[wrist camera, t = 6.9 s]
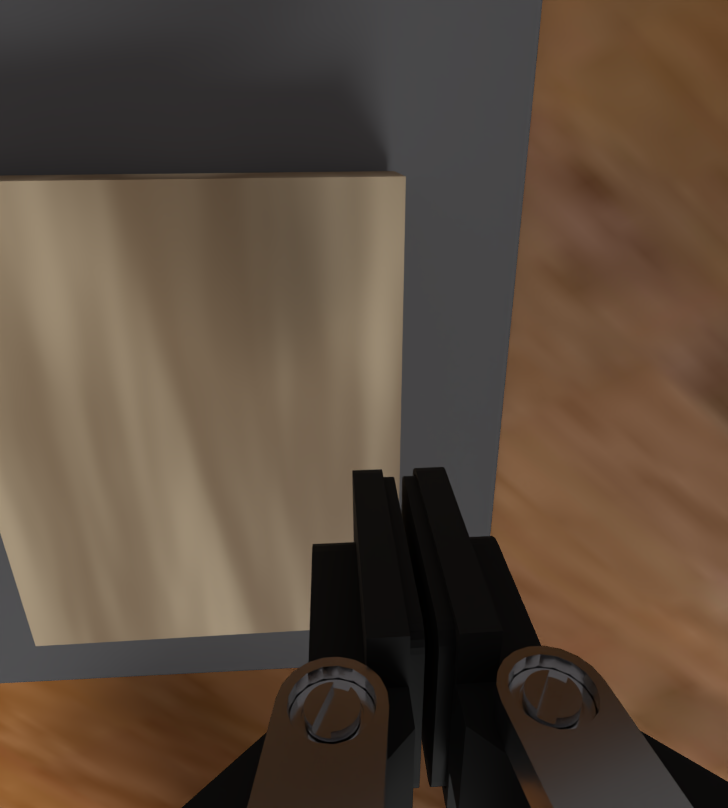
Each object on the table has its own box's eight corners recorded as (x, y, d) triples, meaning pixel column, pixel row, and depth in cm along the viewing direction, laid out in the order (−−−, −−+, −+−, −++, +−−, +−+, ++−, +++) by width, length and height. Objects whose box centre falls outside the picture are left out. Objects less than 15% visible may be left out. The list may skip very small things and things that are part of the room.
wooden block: (405, 176, 12) (-110, 182, 11) (396, 625, 17) (35, 646, 16) (392, 170, 14) (-42, 175, 14) (387, 569, 19) (68, 586, 19)
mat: (539, -28, 13) (545, -33, 13) (475, 649, 21) (478, 658, 21) (-328, -34, 12) (-348, -39, 12) (-45, 675, 20) (-52, 685, 20)
